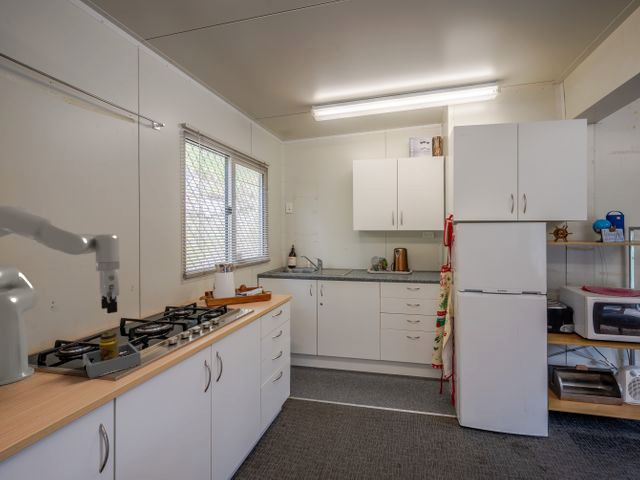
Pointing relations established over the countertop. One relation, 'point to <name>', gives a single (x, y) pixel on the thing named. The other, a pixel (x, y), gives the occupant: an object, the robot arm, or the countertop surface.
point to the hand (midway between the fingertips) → (109, 310)
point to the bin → (111, 361)
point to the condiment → (108, 347)
